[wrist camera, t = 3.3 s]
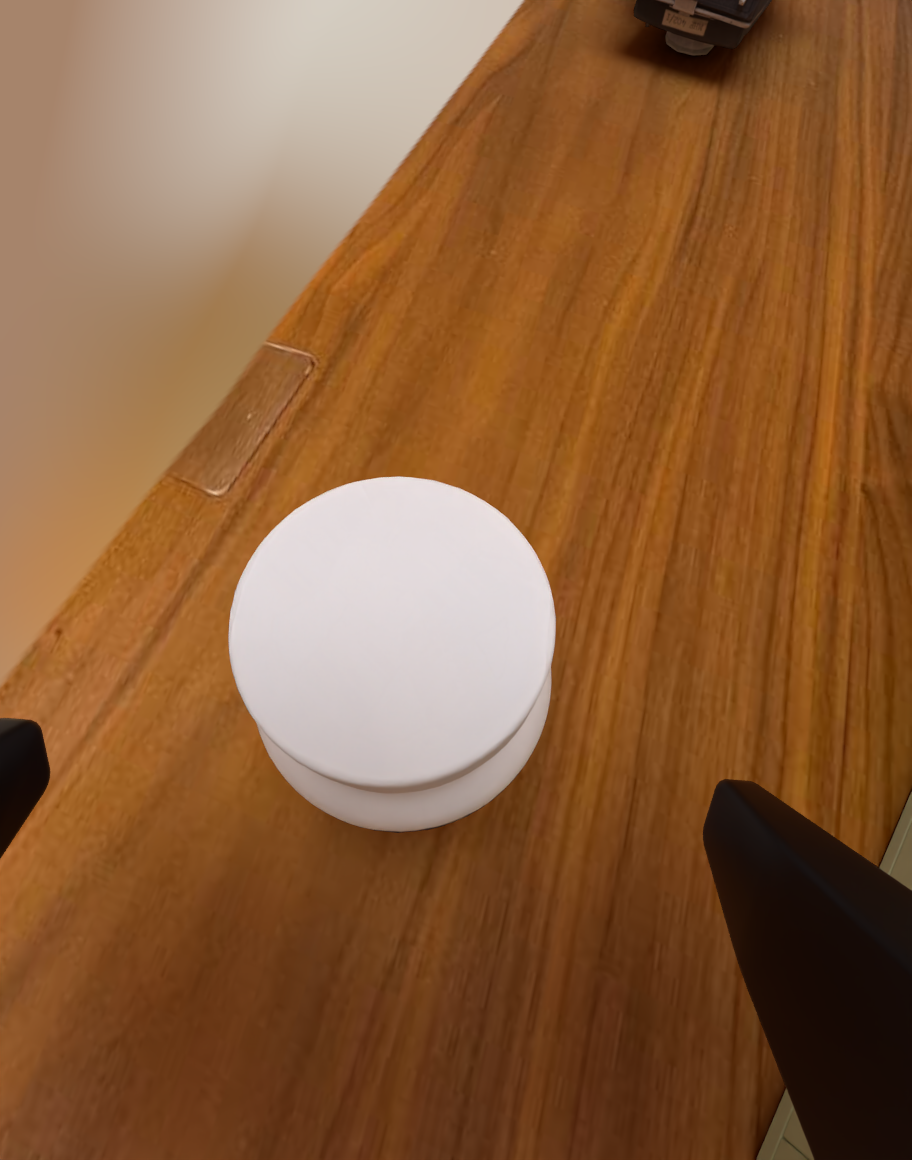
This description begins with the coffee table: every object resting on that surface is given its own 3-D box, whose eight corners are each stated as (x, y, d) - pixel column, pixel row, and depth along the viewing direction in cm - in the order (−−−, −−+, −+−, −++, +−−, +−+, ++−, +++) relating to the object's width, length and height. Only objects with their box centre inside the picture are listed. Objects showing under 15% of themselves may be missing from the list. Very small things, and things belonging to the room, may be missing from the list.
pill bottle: (323, 643, 18) (212, 448, 9) (499, 635, 18) (566, 439, 9) (316, 839, 15) (154, 847, 6) (518, 825, 16) (633, 815, 7)
